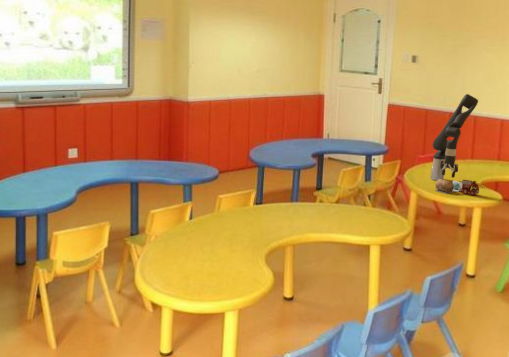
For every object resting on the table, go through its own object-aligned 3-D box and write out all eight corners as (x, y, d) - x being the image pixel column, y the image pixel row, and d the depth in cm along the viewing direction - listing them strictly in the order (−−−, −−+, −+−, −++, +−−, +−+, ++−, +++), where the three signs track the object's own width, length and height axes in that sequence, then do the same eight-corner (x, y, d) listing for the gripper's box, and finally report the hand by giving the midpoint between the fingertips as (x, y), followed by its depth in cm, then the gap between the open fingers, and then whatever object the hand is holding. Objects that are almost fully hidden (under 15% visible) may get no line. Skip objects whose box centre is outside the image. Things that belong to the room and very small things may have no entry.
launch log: (435, 190, 481) (436, 179, 479) (442, 189, 486) (443, 178, 484) (446, 193, 473) (447, 182, 471) (453, 192, 478) (454, 181, 476)
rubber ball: (456, 182, 489) (451, 181, 486) (461, 183, 485) (457, 183, 482) (454, 188, 490) (450, 188, 487) (460, 190, 486) (456, 189, 483)
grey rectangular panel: (435, 190, 481) (435, 190, 481) (453, 187, 493) (453, 187, 493) (445, 193, 473) (446, 193, 473) (464, 190, 485) (464, 190, 485)
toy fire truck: (477, 196, 468) (478, 182, 466) (459, 194, 474) (461, 180, 472) (479, 194, 474) (480, 180, 472) (461, 192, 480) (463, 178, 478)
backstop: (446, 187, 489) (447, 181, 488) (452, 186, 493) (453, 180, 492) (459, 191, 481) (459, 184, 479) (465, 190, 484) (465, 183, 483)
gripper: (461, 156, 472) (459, 177, 475) (446, 152, 483) (443, 173, 487) (455, 156, 467) (452, 178, 471) (439, 153, 479) (437, 174, 483)
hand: (448, 176), depth 479 cm, fingers open, 8 cm apart
